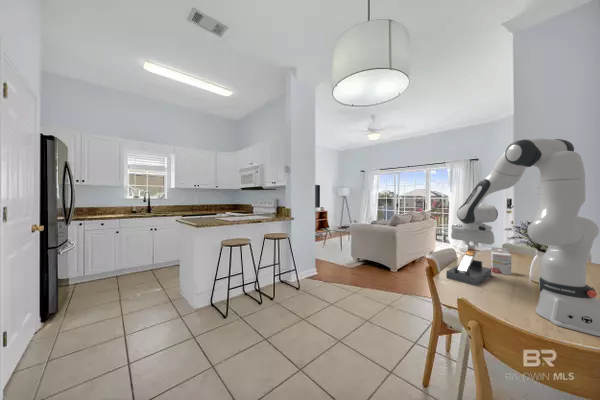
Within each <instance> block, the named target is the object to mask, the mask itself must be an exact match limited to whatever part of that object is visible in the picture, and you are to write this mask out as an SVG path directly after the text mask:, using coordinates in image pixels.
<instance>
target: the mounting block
mask: <svg viewBox="0 0 600 400" xmlns="http://www.w3.org/2000/svg"><path fill="white" fill-rule="evenodd" d="M459 266H460V264H458V265H456V266H454V267H452V268H450V269H448V270H446V279H449V280H452V281H456V282H461V283H465V284H468V285H471V286H476V287H477V286H478V285H480V284H481V283H483V282H484V281H485V280H487V279H489V278H491V276H492V271H491V267H484V266H483V261H482V260H476V259H473V261H472V263H471V265H470V267H469V269H468V271H466V274H462V273H458V272H457V269H458V268H459ZM488 277H489V278H488Z"/></svg>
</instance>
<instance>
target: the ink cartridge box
mask: <svg viewBox="0 0 600 400" xmlns="http://www.w3.org/2000/svg"><path fill="white" fill-rule="evenodd" d="M490 255H491V256H490V259H491V260H490V264H491V265H490V268H491V270H492V271H491V273H493V272H495V273H494V274H500V273H503V275H510V276H512V254H511V253H510V249H509V248H508V247H507V248H506V247H495V246H492V247H491V253H490Z"/></svg>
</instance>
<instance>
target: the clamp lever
mask: <svg viewBox="0 0 600 400" xmlns="http://www.w3.org/2000/svg"><path fill="white" fill-rule="evenodd" d="M477 253H478V251H477V249H475V250H473V249H468V248H467V250H466V252H465V254H464V256H463V258H462V260H461V261H460V264H459V265H460V266H459V268H458V269H457V272H458V273H462V274H466V271H468V269H469V267H470V265H471V263H472V261H473V260H475V256H476V255H477Z"/></svg>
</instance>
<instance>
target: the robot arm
mask: <svg viewBox="0 0 600 400" xmlns="http://www.w3.org/2000/svg"><path fill="white" fill-rule="evenodd" d="M533 166H534V167H536V168H537V169H539V173H540V177H539V178H540V179H539V180H540V184H539V187H540V191H539V192H540V197H539V199H540V200H539V204H538V208H537V211H536V213H535V217H534V219H533V221H532V222H531V223H529V225H528V226H527V229H526V231H527V236H528V237H529V239H531V241H532V242H534V243H535V244H537V245H541V246H546V247H547V249H546V250H545V253H544V254H543V255H542V257H541V260H540V262H541V263H540V267H541V269H540V272H541V274H540V277H539V279H538V280H539V282H538V286H539V287H538V288H539V291H540V293H539V299H538V302H537V306H536V308H535V313H537V315H539V316H540V317H542V318H544V319H546V320H548V321H550V322H551V323H552V324H554V325H556V326H557V327H561V328H565V329H570V330H573V331H577V332H581V333H583V334H584V333H585V334H588V335H593V336H597V337H600V299H598V298H597V296H598V294H597V292H596V289H595V287H593V286H592V287H591V286H590V285H588V284H587V264H588V260H589V256H590V253H591V250H592V246H593V244H594V241H595V240H596V238H597V237H598V236H599V234H600V227H599V226H598V225H597V223H596V222H594V221H593V220H591V219H590V218H586V217H581V216H578V215H579V212H580V209H581V207H582V206H583V205H584V204H585V202H586V174H585V173H586V172H585V165H584V162H583V159H582V155H580V154H579V153H578V152H577V151H575V147H574V144H573V143H572V142H570V141H568V140H567V139H561V138H555V139H554V138H553V139H552V138H532V139H520V140H516V141H513V142H511V143H510V144H509V145H508V146H507V147H506V149H505V150H504V151H503V152H502V154H501V155H500V157H498V159H497V161H496V162H495V164H494V166H493V167H492V170H491V171H490V173H488V175H487V176H486V177H485V178H483V179H482V180H481V181H479V182H478V183H477V184H476V185H475V186H474V188H473V190H472V191H471V193H470V194H469V196H468V197H467V198H466V199H465V200H463V203H462V205H460V207H459V208H458V210H457V212H456V216H457V218H458V220H459V221H460V222H461V223H462V224H457V223H455V224H452V225H451V233H450V234H451V235H450V237H451V239H452V240H458V241H465V244H466V245H467V250H468V249H473V250H476V246H477V245H478V244H483V245H493V244H494V243H495V235H494V232H493V231H492V229H493V227H492V226H490V225H489V224H485V223H493V222H495V221H496V220H497V219H498V216H499V212H498V209H497V208H496V207H495V205H494V206H493V205H491V204H488V203H485V202H483V200H484V199H485V198H486V197H487V196H489V195H490V194H493V193H496V192H499V191H502V190H507V189H509V188H511V187H514V186H515V185H516V184H517V183H518V182H519V181H520V179H521V177H523V174H524V173H525V170H526V169H527V168H530V167H533ZM470 243H473V245H470Z"/></svg>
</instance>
